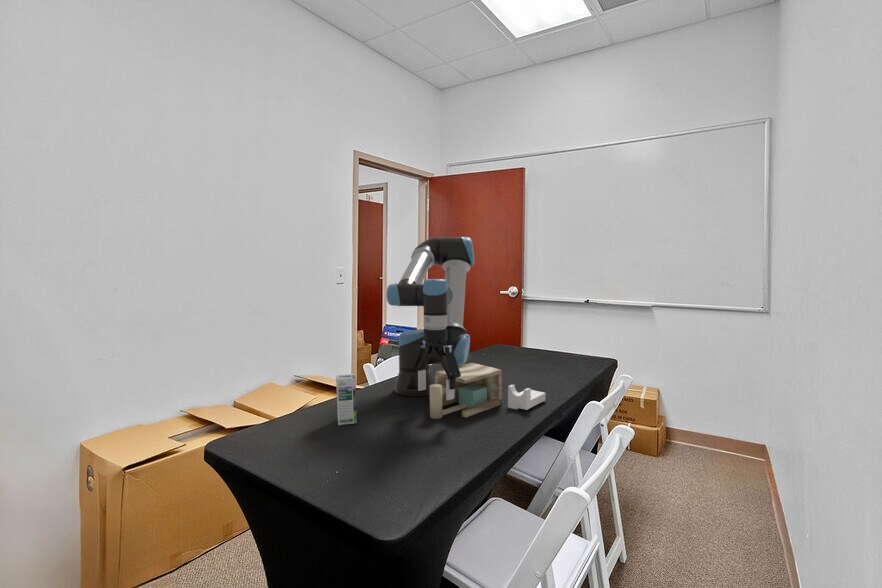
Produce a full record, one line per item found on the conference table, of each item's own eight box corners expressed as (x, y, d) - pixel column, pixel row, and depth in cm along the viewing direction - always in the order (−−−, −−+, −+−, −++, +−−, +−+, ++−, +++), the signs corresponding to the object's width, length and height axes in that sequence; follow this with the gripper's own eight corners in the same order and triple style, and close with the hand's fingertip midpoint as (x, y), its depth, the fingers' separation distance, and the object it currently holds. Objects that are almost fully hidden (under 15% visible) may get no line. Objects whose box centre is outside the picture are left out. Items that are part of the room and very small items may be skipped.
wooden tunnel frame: (435, 406, 147) (435, 371, 146) (472, 395, 159) (472, 362, 158) (465, 417, 137) (465, 379, 136) (501, 404, 149) (502, 369, 148)
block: (424, 415, 139) (424, 384, 139) (472, 399, 154) (472, 372, 154) (438, 421, 134) (438, 389, 133) (487, 404, 149) (487, 376, 148)
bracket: (526, 412, 142) (526, 390, 141) (508, 408, 146) (508, 386, 146) (545, 402, 151) (545, 381, 151) (527, 398, 156) (527, 378, 155)
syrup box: (338, 425, 131) (336, 379, 130) (337, 418, 137) (336, 374, 136) (357, 423, 133) (356, 377, 131) (355, 417, 138) (354, 372, 137)
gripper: (401, 325, 143) (402, 388, 144) (454, 333, 124) (454, 406, 125) (419, 323, 148) (419, 384, 149) (472, 331, 129) (472, 400, 130)
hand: (435, 394), depth 137 cm, fingers open, 13 cm apart
